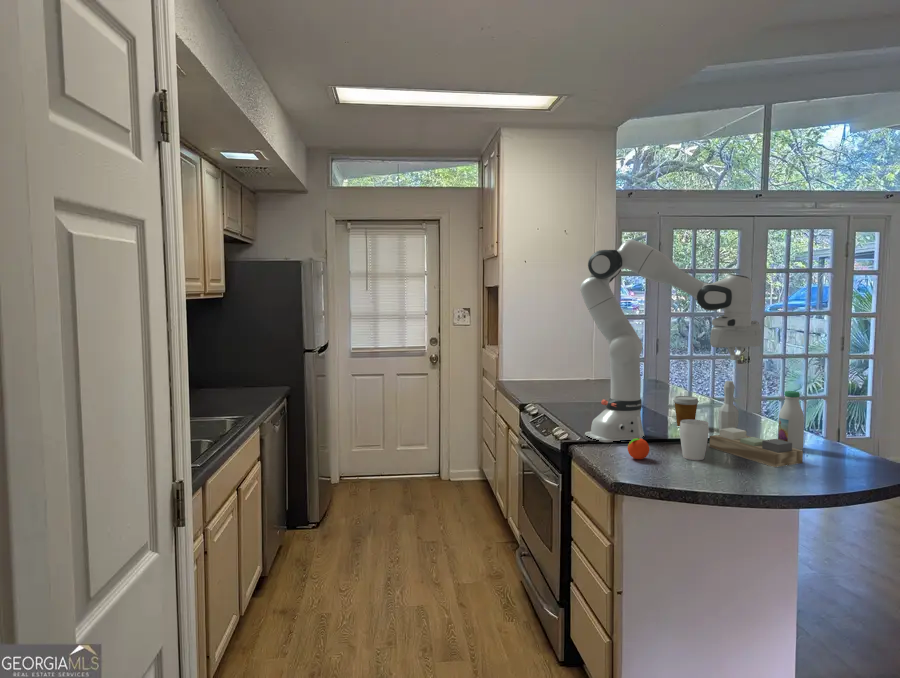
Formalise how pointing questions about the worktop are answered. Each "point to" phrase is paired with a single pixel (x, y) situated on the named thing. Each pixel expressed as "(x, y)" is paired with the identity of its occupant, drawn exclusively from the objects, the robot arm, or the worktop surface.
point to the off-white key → (732, 433)
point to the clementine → (638, 448)
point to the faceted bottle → (728, 408)
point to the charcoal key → (777, 445)
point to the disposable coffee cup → (685, 408)
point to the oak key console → (756, 452)
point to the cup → (693, 438)
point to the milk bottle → (791, 420)
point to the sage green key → (752, 441)
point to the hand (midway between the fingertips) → (735, 359)
